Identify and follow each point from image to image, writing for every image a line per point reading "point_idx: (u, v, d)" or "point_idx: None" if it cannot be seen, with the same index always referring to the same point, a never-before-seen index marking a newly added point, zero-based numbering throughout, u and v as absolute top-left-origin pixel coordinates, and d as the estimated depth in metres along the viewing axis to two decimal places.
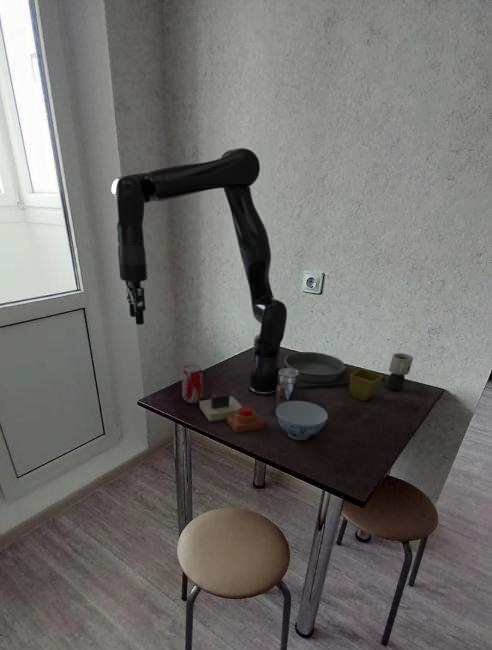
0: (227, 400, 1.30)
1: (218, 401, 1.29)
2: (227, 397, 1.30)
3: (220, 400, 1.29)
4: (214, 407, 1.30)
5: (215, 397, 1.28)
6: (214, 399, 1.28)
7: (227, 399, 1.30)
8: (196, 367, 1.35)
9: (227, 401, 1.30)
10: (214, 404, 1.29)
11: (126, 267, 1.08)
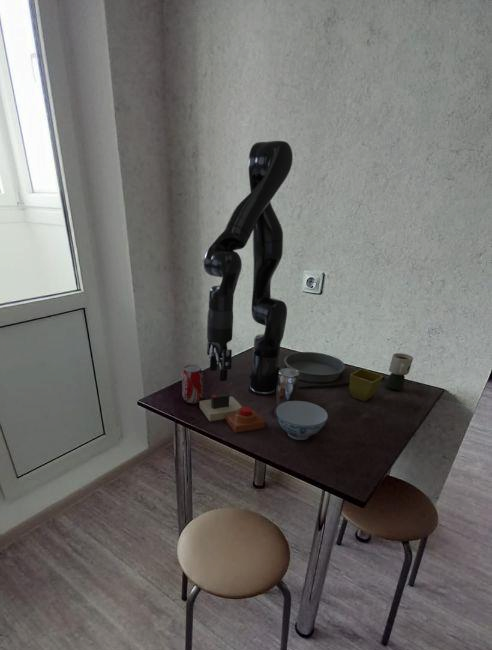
0: (227, 400, 1.30)
1: (218, 401, 1.29)
2: (227, 397, 1.30)
3: (220, 400, 1.29)
4: (214, 407, 1.30)
5: (215, 397, 1.28)
6: (214, 399, 1.28)
7: (227, 399, 1.30)
8: (196, 367, 1.35)
9: (227, 401, 1.30)
10: (214, 404, 1.29)
11: (216, 330, 1.15)
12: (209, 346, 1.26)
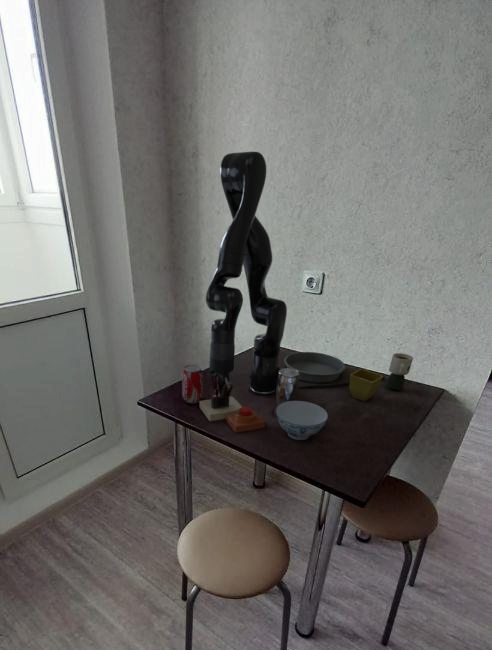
0: (227, 400, 1.30)
1: None
2: None
3: None
4: (214, 407, 1.30)
5: (215, 397, 1.28)
6: (214, 399, 1.28)
7: (227, 399, 1.30)
8: (196, 367, 1.35)
9: (227, 401, 1.30)
10: (214, 404, 1.29)
11: (218, 362, 1.20)
12: (213, 379, 1.30)
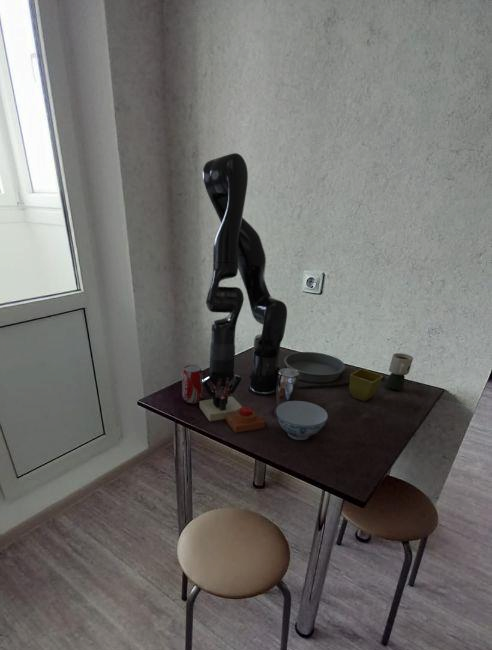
0: None
1: None
2: None
3: None
4: None
5: None
6: None
7: None
8: (196, 367, 1.35)
9: None
10: None
11: (233, 360, 1.22)
12: (209, 387, 1.25)
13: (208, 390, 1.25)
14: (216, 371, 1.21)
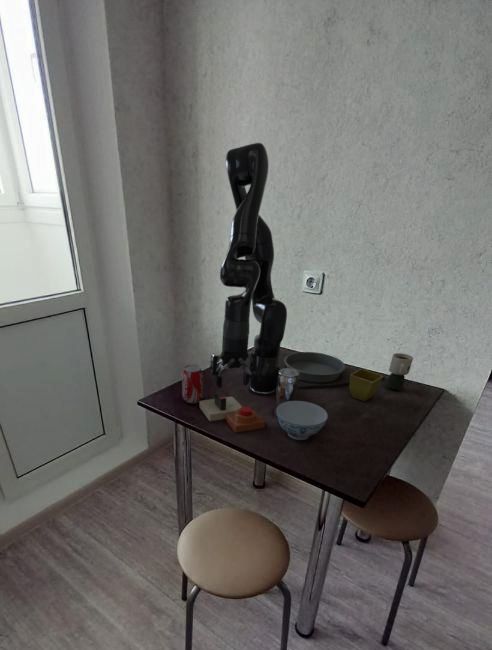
0: None
1: None
2: None
3: None
4: None
5: None
6: None
7: None
8: (196, 367, 1.35)
9: None
10: None
11: (247, 339, 1.15)
12: None
13: (214, 367, 1.17)
14: (229, 350, 1.15)
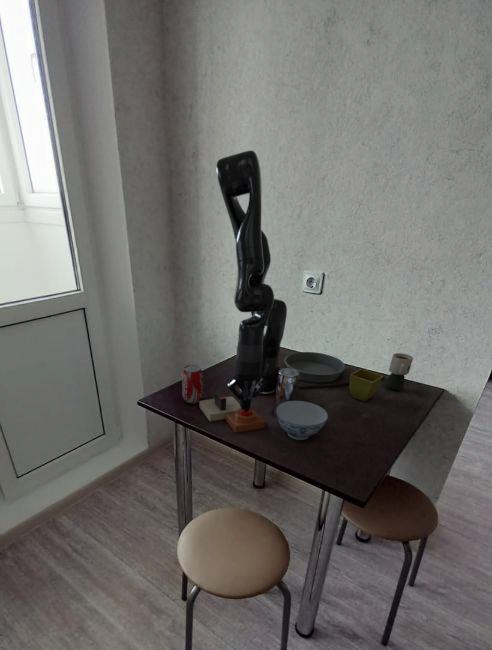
0: None
1: None
2: None
3: None
4: None
5: None
6: None
7: None
8: (196, 367, 1.35)
9: None
10: None
11: (261, 361, 1.16)
12: (236, 391, 1.19)
13: (235, 394, 1.19)
14: (243, 373, 1.15)
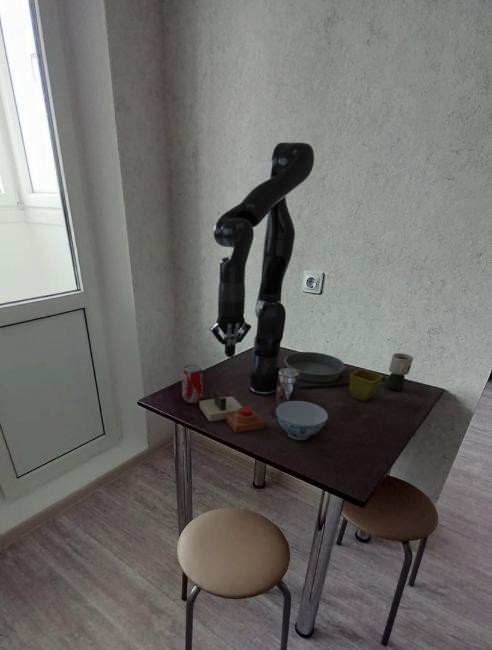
0: None
1: None
2: None
3: None
4: None
5: None
6: None
7: None
8: (196, 367, 1.35)
9: None
10: None
11: (244, 302, 1.13)
12: (219, 335, 1.16)
13: (219, 338, 1.16)
14: (225, 315, 1.12)
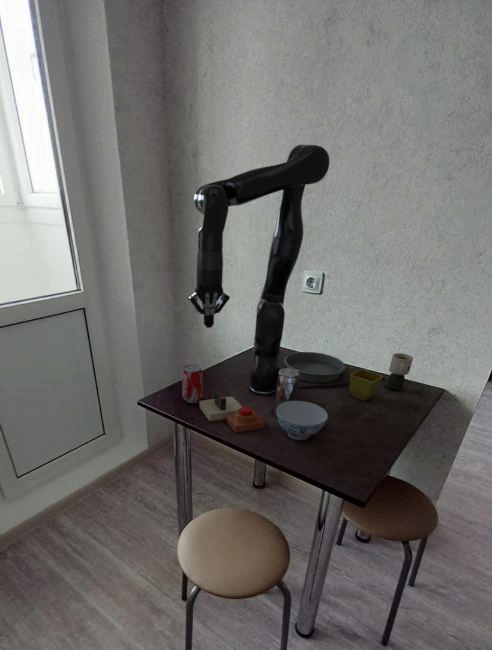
0: None
1: None
2: None
3: None
4: None
5: None
6: None
7: None
8: (196, 367, 1.35)
9: None
10: None
11: (222, 271, 1.14)
12: (198, 304, 1.18)
13: (197, 307, 1.18)
14: (203, 283, 1.14)
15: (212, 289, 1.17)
